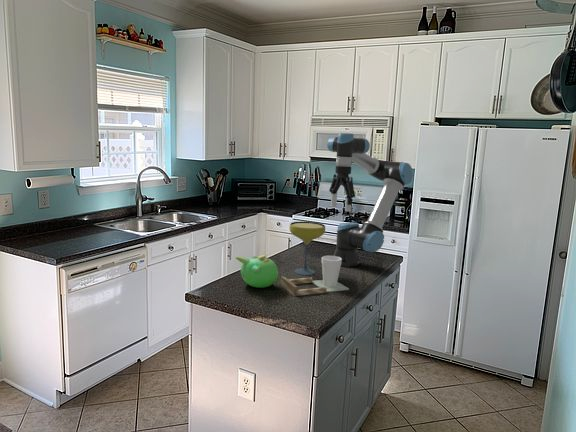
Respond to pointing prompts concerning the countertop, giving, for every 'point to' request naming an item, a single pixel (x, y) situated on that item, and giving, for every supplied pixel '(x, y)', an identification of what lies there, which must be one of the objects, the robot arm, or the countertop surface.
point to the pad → (330, 289)
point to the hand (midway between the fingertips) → (340, 209)
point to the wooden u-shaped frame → (294, 290)
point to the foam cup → (330, 270)
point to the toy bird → (258, 271)
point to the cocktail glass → (306, 238)
